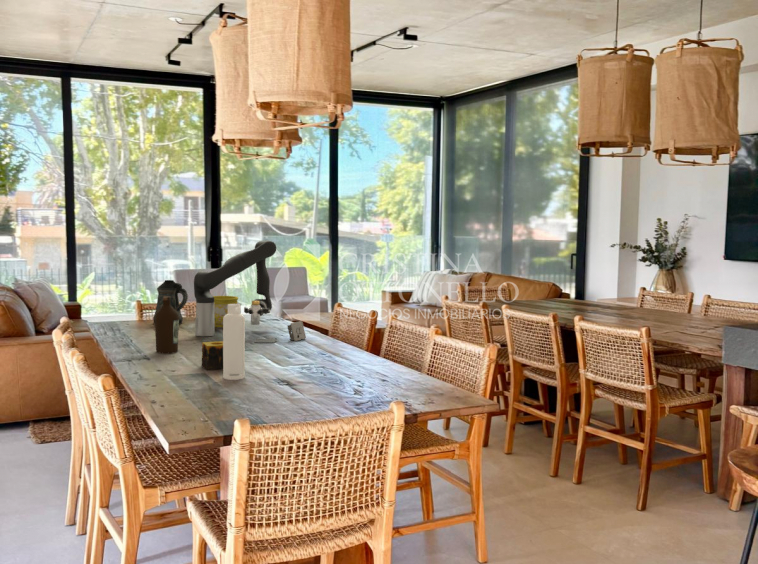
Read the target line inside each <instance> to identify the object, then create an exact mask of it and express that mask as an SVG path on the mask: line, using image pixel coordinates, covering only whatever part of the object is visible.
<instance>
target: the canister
mask: <svg viewBox="0 0 758 564" xmlns="http://www.w3.org/2000/svg"><path fill="white" fill-rule="evenodd" d="M250 308H251V314H250V325H252V326H259V325H260V323H261V322H260V321H261V320H260V319H261V316H260V314H259V310H260V301H254V300H251V305H250Z"/></svg>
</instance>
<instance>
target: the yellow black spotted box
mask: <svg viewBox="0 0 758 564" xmlns="http://www.w3.org/2000/svg"><path fill="white" fill-rule="evenodd" d="M201 367H202V368H203V369H205V370H206V371H217V370H223V340H220V341H203V342H202V343H201Z"/></svg>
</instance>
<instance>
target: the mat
mask: <svg viewBox="0 0 758 564" xmlns="http://www.w3.org/2000/svg"><path fill="white" fill-rule="evenodd" d="M276 342H277V338H256V339H255V340H254V341H253V343H254V344H275V343H276Z"/></svg>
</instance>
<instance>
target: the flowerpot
mask: <svg viewBox="0 0 758 564" xmlns="http://www.w3.org/2000/svg"><path fill="white" fill-rule="evenodd" d="M212 296H213V297H214V328H223V317H224V316H225V315H226V314H228V304H239V302H238V300H239V297H238V296H233V295H212Z"/></svg>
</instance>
